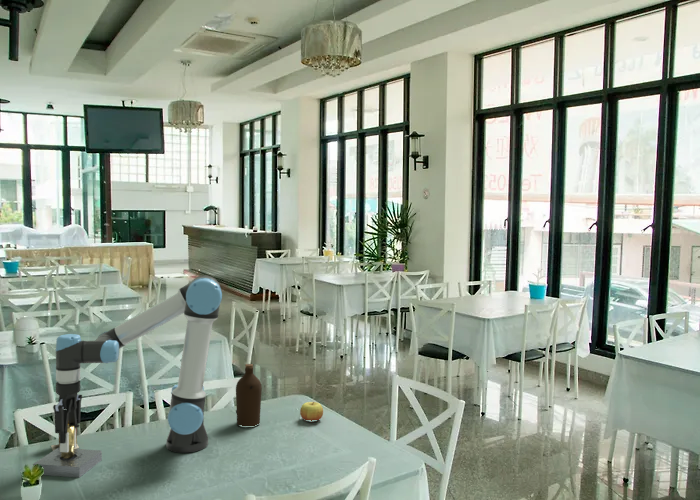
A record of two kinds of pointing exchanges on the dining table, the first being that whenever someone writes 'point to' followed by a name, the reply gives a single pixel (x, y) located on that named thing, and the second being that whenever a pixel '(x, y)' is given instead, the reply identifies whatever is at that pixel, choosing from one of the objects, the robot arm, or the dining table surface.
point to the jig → (70, 462)
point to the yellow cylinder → (71, 443)
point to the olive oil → (248, 398)
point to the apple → (311, 411)
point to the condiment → (59, 442)
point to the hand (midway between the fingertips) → (67, 449)
